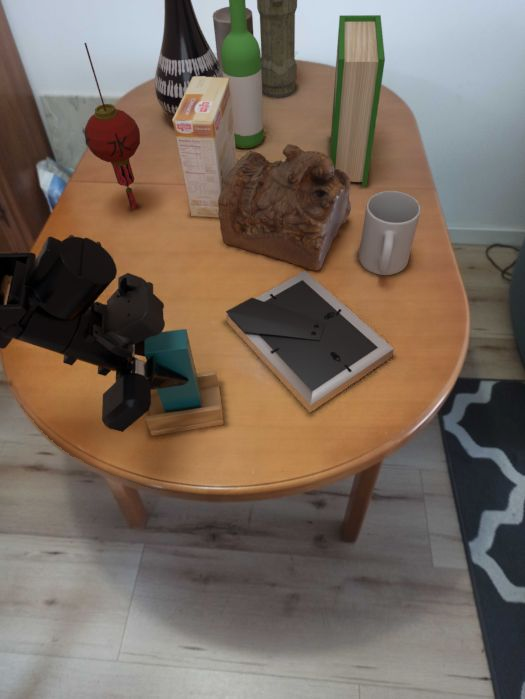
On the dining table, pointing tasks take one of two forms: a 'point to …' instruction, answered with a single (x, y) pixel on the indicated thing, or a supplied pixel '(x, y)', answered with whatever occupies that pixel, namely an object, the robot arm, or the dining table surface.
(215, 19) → the pillar candle
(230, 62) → the bottle
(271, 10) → the thermos
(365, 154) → the hardback book
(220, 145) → the coffeecake box
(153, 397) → the stand
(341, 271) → the dining table surface
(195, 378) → the teal rectangular block
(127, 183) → the lantern
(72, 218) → the dining table surface
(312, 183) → the sculpture
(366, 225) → the mug
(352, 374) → the picture frame
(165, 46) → the vase
